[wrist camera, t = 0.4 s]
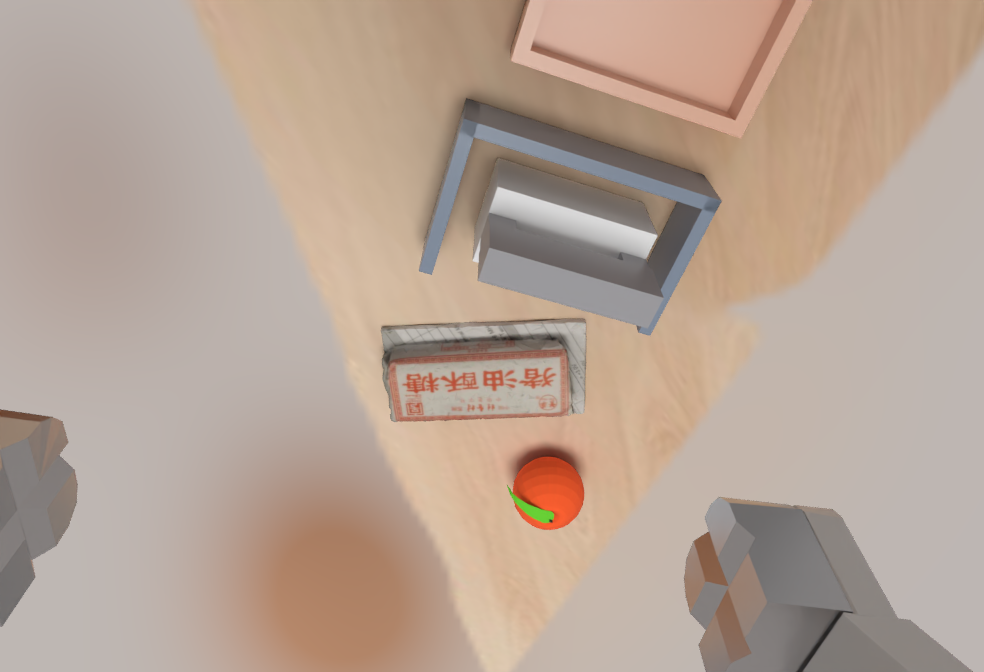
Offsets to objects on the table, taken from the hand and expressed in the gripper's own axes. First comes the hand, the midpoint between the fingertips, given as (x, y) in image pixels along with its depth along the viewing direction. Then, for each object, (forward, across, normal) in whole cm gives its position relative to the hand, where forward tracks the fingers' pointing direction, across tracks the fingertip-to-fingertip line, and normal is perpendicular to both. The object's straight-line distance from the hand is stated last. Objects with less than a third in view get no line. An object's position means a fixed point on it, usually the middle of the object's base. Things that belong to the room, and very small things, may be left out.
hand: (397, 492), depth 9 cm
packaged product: (+46, -5, +30) cm, 55 cm away
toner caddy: (+46, -9, +14) cm, 48 cm away
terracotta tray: (+45, -12, -1) cm, 47 cm away
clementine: (+46, -13, +41) cm, 63 cm away
